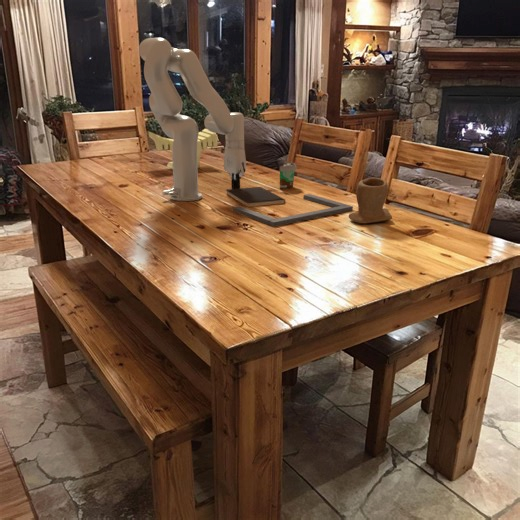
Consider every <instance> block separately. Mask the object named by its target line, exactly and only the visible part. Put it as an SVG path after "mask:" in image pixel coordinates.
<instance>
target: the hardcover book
mask: <svg viewBox="0 0 520 520" xmlns="http://www.w3.org/2000/svg"><path fill="white" fill-rule="evenodd" d="M225 190H226V194H227V195H228V196H229V197H231V198H233V199H235V200H236V201H237V202H239V203H241V204H242V205H244V206H246V207H248V208H249V207H257V206H259V207H260V206H269V205H270V206H271V205H278V204H286V199H285V198H283V197H281V196H279V195H277V194H275V193H274V192H271V191H269V190H267V189H266V188H264V187H261V186H256V187H255V186H254V187H253V186H251V187H242V188H241V187H240V188H239V189H232V188H231V189H228V188H227V189H225Z"/></svg>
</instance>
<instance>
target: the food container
mask: <svg viewBox="0 0 520 520" xmlns="http://www.w3.org/2000/svg"><path fill="white" fill-rule="evenodd" d="M296 170H297V165H296V163H295V162H291V161H284V162H283V164H282V165H279V190H289V189H290V190H291V189H293V188H294V180H295V171H296Z"/></svg>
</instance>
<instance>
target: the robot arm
mask: <svg viewBox="0 0 520 520" xmlns="http://www.w3.org/2000/svg"><path fill="white" fill-rule="evenodd" d="M138 54H139V55H140V58H141V59H142V60H143V61H144V65H143V75H144V80H145V81H146V84H147V87H148V88H149V90H150V95H149V97H148V105H149V108H150V111H151V112H152V114H153V116H154V118H155V120H156V121H157V123H158V125H159V126H160V129H161V130H162V132H163V133H164V134H165V135H166V136H167V137H168V138H169V139H173V140H174V141H173V147H172V150H171V158H172V160H171V161H172V162H173V169H172V178H173V180H172V181H173V186H170V188H169V189H165V190H162V191H161V192H162V196H169V198H170V199H171V200H173V201H179V202H193V201H198V200H201V199H202V198H203V194H202V192H199V181H198V180H199V179H198V178H199V176H198V173H199V172H198V168H197V141H198V133H199V132H200V130H199V125H198V123H197V122H196V120H195V119H193V118H192V117H190V116H188V115H184V114H181V112H182V111H183V107H184V106H183V101H182V100H183V99H182V98H181V96H180V94H179V92H178V91H177V89H176V87H175V85H174V82H173V81H172V79H171V77H170V74H169V71H170V72H173V73H176V74H177V73H178V74H179V75H180V78H181V79H182V80H183V82H184V84H185V86H186V88H187V90H188V92H189V94H190V96H191V97H192V99H194V100H195V101H196V102H197V103H199V104H200V105H201V106H203V107H204V108H205V109H206V111H207V112H208V113H209V114H207V115H206V117H205V118H204V127H205V129H208V130H209V131H211V132H214V133H216V134H219V135H223V136H224V135H225V147H224V151H223V153H224V155H223V170H224V171H225V172H226V173H228V175H230V177H229V178H230V180H231V189H239V188H241V180H242V177H245V172H246V169H247V160H246V150H245V116H244V114H243V113H242V112H237V111H235V112H234V111H233V112H231V111H230V109H229V107H228V105H227V104H226V102H225V100H224V99H223V98H222V97H221V96H220V94H219V93H218V91H217V90H216V89H215V88H214V87H213V86H212V84H211V83H210V80H209V78H208V76H207V74H206V72H205V70H204V68H203V66H202V64H201V62H200V60H199V58H198V56H197V55H196V53H195V51H193V50H191V49H188V48H179V49H178V48H176V47H173V46H172V45H171V43H170V42H169V41H168V40H167V39H166V38H163V37H151V38H150V37H149V38H144V39H143V40H142V41H141V42H140V44H139V46H138Z"/></svg>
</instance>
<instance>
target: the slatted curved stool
mask: <svg viewBox="0 0 520 520" xmlns="http://www.w3.org/2000/svg"><path fill="white" fill-rule="evenodd" d="M217 134H218V133H214V132H211V131H209V130H208V129H207V128H204V129H202V130H201V131H199V133H198V141H197V169H201V165H200V161H201V155H202V151H203V150H205V149H206V148H212V147H214V148H218V135H217ZM148 138H150V139H151V140H152V141H153V143H154V144H155V150H156V151H158V152H160V151H164V150H165V151H166V150H170V151H172V147H173V141H174V139H173V138H169V137H168V138H167V137H163V136H161V135H158V134H156V133H154V132H151V131H148ZM166 167H168V168H169V169H172V170H173V161H168V163H167V165H166Z"/></svg>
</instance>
